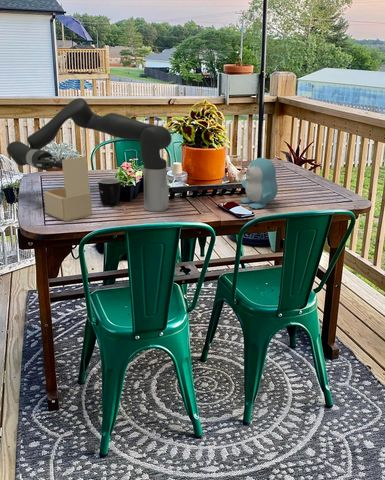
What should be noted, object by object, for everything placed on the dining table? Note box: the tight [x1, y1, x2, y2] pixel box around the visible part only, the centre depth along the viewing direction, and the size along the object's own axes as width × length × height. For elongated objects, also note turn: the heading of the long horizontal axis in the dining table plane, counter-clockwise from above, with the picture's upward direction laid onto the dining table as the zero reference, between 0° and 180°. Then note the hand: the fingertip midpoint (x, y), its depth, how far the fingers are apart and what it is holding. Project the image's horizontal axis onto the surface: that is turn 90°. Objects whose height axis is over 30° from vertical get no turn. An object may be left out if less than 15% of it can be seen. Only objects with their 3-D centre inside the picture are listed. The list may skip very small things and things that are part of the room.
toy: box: [240, 157, 278, 210], centre depth 209 cm, size 24×14×20 cm, turn 21°
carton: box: [43, 186, 93, 222], centre depth 192 cm, size 14×13×9 cm
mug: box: [97, 177, 121, 207], centre depth 205 cm, size 12×9×10 cm
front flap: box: [62, 155, 91, 198], centre depth 184 cm, size 14×10×1 cm
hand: (63, 166), depth 188 cm, fingers closed
